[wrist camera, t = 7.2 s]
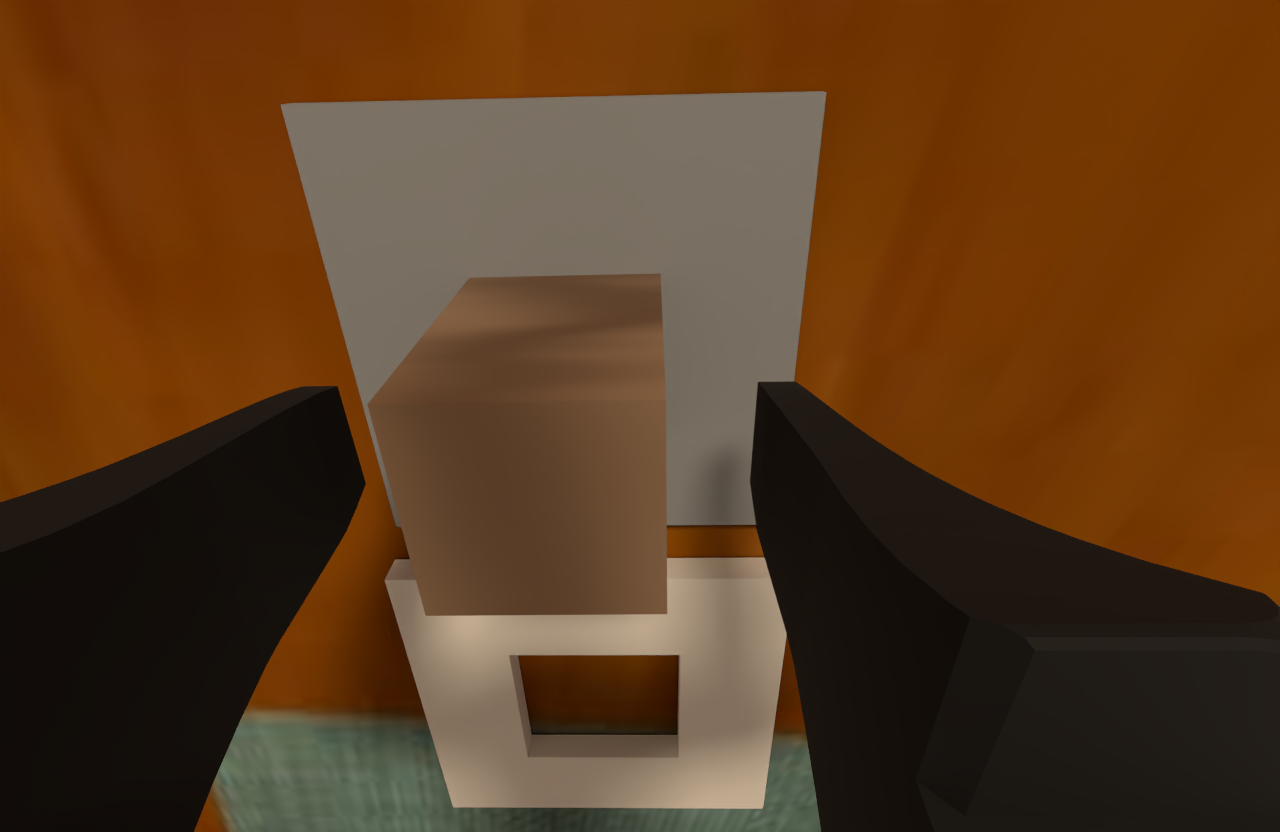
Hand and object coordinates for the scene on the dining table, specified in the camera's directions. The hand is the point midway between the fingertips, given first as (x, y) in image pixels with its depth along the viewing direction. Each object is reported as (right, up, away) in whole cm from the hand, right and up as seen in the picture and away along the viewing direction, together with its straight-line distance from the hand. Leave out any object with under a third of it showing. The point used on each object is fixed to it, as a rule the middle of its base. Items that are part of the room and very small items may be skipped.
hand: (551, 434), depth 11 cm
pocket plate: (0, -8, +9) cm, 13 cm away
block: (0, +2, +3) cm, 4 cm away
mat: (0, +2, +3) cm, 4 cm away
